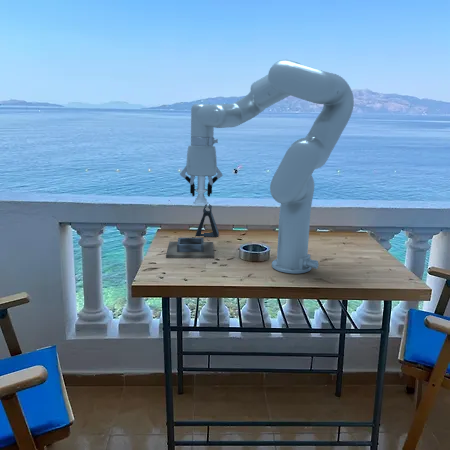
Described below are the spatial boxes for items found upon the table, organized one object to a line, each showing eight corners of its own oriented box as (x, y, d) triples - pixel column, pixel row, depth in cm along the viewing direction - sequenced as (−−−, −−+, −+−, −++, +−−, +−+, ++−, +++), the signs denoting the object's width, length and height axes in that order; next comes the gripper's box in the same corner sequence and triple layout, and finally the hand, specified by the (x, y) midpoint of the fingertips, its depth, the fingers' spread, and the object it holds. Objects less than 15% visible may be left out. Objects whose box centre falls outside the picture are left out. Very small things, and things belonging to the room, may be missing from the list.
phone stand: (218, 233, 184) (219, 204, 181) (218, 237, 178) (218, 207, 175) (196, 232, 184) (196, 203, 181) (195, 236, 178) (195, 206, 175)
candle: (201, 201, 162) (201, 167, 159) (211, 203, 158) (212, 169, 155) (189, 203, 158) (190, 168, 155) (200, 205, 154) (201, 170, 151)
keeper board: (212, 244, 169) (213, 235, 168) (213, 258, 153) (214, 248, 152) (169, 244, 168) (169, 234, 167) (165, 258, 153) (165, 247, 152)
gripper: (226, 141, 157) (224, 193, 162) (176, 140, 155) (176, 193, 160) (228, 143, 150) (226, 198, 155) (176, 142, 148) (176, 197, 153)
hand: (201, 195), depth 157 cm, fingers closed on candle, 4 cm apart
